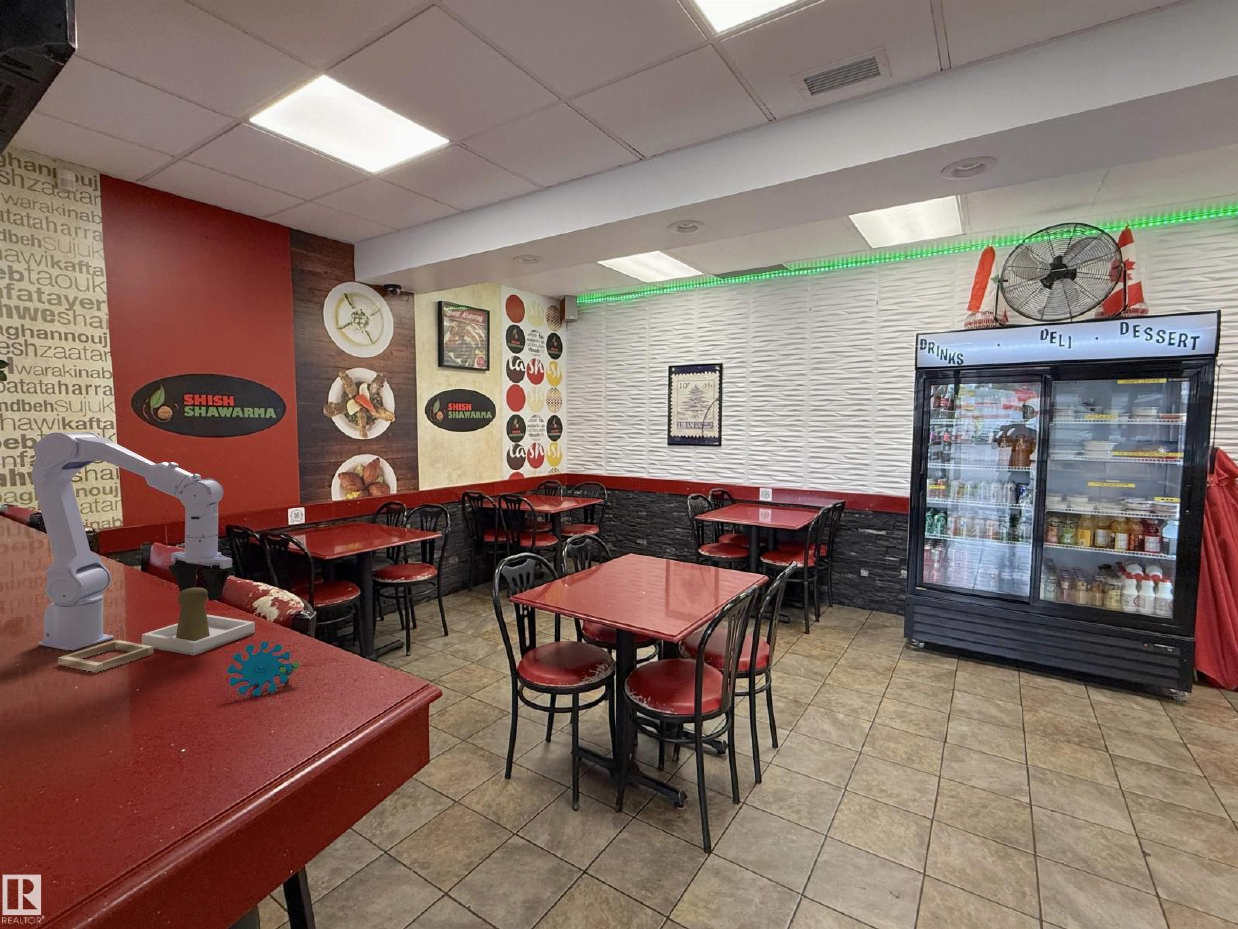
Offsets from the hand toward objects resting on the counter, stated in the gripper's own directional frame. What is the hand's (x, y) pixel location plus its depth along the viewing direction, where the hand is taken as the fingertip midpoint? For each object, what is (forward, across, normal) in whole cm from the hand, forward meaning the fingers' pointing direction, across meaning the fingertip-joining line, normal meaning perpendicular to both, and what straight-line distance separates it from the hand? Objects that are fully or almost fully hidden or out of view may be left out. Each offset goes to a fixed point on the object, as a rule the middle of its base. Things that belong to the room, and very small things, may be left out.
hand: (200, 597), depth 121 cm
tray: (+9, 0, 0) cm, 9 cm away
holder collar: (+9, +6, +14) cm, 18 cm away
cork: (+9, 0, +2) cm, 9 cm away
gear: (+10, -31, +13) cm, 35 cm away
